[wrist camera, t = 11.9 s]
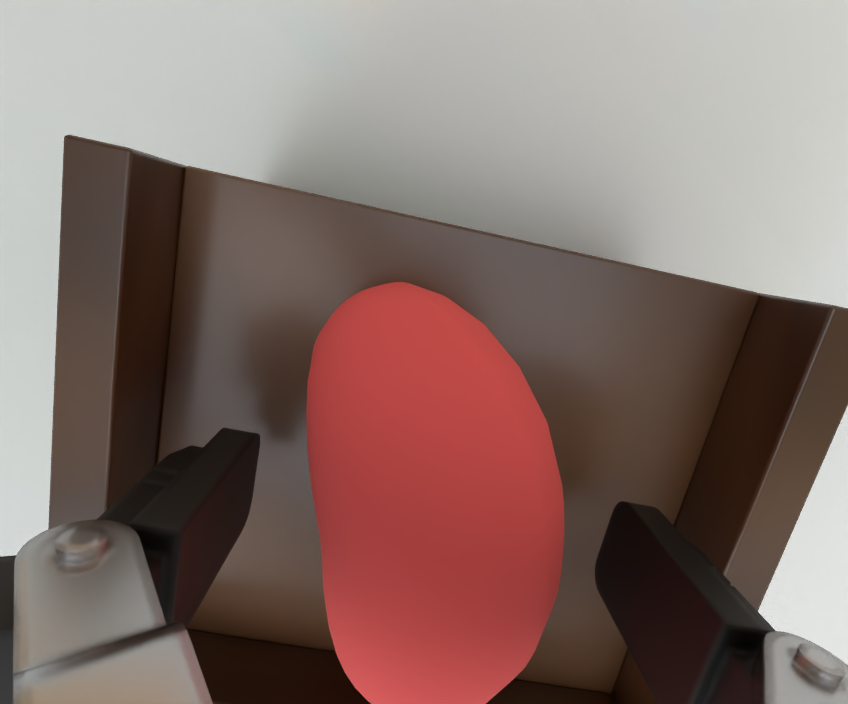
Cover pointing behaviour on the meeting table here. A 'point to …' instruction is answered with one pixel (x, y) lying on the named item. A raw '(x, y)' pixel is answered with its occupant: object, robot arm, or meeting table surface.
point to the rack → (509, 323)
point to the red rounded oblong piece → (430, 499)
